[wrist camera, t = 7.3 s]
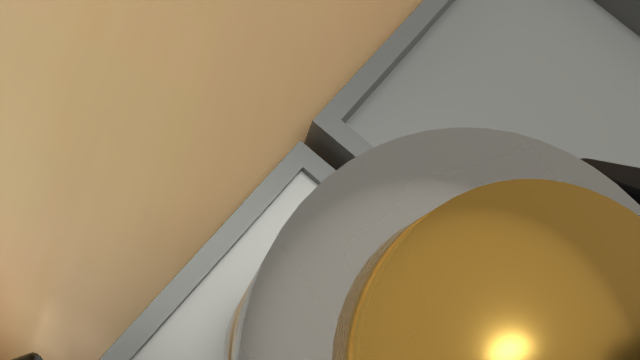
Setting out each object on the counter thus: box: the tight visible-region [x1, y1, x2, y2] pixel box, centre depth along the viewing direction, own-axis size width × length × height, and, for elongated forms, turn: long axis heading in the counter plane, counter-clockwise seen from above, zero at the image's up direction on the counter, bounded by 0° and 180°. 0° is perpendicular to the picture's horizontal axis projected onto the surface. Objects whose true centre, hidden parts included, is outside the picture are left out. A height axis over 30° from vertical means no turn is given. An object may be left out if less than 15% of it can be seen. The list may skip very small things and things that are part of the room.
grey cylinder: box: [224, 127, 640, 360], centre depth 11 cm, size 5×5×13 cm
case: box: [304, 0, 640, 170], centre depth 20 cm, size 16×13×2 cm
